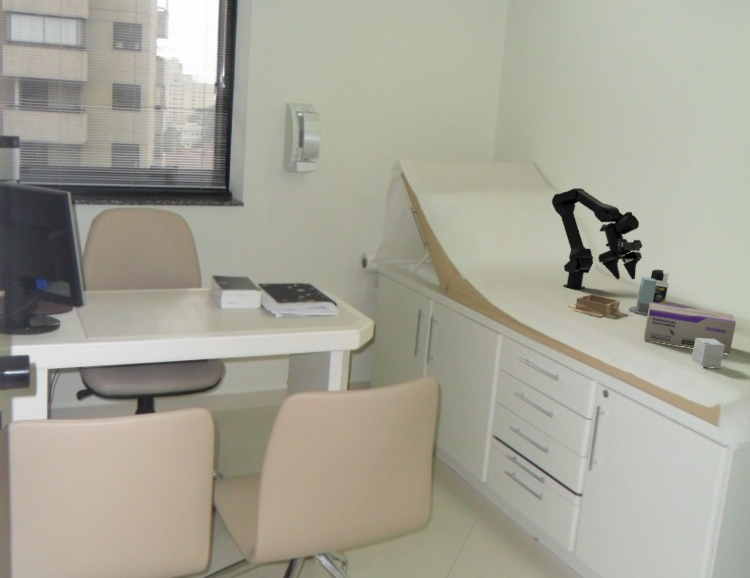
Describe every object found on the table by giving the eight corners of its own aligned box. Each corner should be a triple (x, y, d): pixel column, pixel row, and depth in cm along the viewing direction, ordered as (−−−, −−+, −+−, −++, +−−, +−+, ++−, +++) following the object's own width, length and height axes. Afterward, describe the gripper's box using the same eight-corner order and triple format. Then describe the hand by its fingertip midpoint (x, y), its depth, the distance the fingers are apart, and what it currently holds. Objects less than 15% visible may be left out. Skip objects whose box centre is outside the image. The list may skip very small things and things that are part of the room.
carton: (585, 301, 303) (587, 291, 302) (629, 312, 293) (631, 301, 292) (563, 308, 291) (565, 297, 290) (608, 320, 280) (610, 308, 279)
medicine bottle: (644, 301, 313) (650, 270, 310) (646, 297, 319) (651, 267, 316) (664, 304, 310) (670, 273, 307) (665, 301, 317) (671, 270, 314)
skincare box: (709, 361, 244) (714, 338, 242) (720, 369, 238) (725, 344, 237) (690, 361, 243) (695, 337, 241) (701, 368, 237) (706, 343, 236)
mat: (635, 306, 303) (635, 304, 303) (662, 313, 297) (662, 311, 297) (624, 310, 296) (624, 308, 296) (651, 317, 290) (651, 315, 290)
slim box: (636, 307, 299) (641, 277, 296) (648, 309, 298) (654, 278, 296) (638, 310, 295) (643, 279, 292) (650, 312, 294) (656, 281, 291)
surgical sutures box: (644, 341, 259) (649, 309, 257) (644, 333, 269) (649, 301, 267) (728, 356, 252) (735, 322, 250) (725, 347, 262) (732, 314, 260)
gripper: (617, 230, 293) (628, 271, 290) (648, 232, 305) (659, 272, 301) (592, 241, 302) (603, 281, 298) (623, 242, 313) (634, 281, 310)
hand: (626, 279), depth 302 cm, fingers open, 9 cm apart
